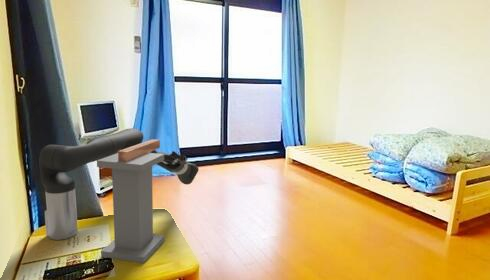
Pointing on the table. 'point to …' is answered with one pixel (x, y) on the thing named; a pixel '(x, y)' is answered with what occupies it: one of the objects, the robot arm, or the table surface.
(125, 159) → the bar
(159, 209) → the table surface
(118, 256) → the stand
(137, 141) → the robot arm
